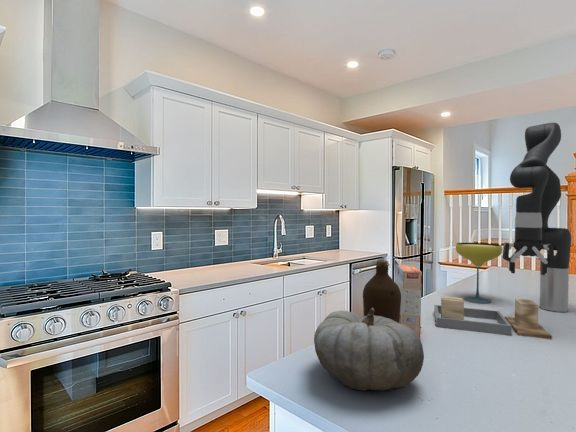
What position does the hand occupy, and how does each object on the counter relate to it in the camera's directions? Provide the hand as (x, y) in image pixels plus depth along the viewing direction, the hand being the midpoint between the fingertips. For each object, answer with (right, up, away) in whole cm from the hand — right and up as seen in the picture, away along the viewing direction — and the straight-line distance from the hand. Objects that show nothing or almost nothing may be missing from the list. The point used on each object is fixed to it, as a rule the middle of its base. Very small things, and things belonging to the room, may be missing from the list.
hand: (527, 273), depth 117 cm
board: (0, -19, 0) cm, 19 cm away
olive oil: (-54, -18, -18) cm, 60 cm away
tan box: (0, -18, 0) cm, 18 cm away
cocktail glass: (+4, -18, +37) cm, 42 cm away
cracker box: (-42, -18, -3) cm, 46 cm away
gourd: (-63, -19, -36) cm, 75 cm away
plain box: (-22, -18, +7) cm, 30 cm away
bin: (-17, -18, +5) cm, 25 cm away
